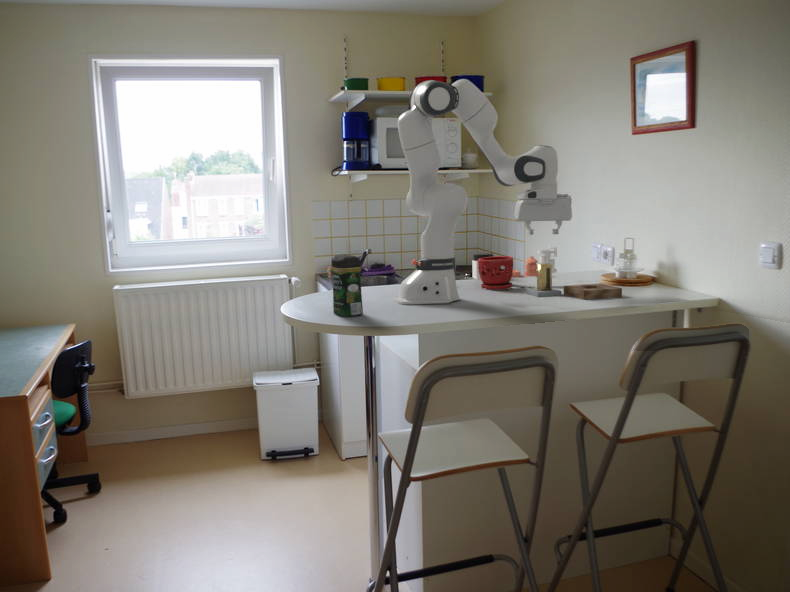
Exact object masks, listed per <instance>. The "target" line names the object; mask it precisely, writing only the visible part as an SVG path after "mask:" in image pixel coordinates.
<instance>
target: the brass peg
mask: <svg viewBox="0 0 790 592" xmlns="http://www.w3.org/2000/svg"><path fill="white" fill-rule="evenodd" d="M536 264H537V270H536V271H537V276H536V281H537V282H536V289H537V290H539V291H550V290H552V288H553V273H552V264H549V263H541V264H540V263H536Z"/></svg>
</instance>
